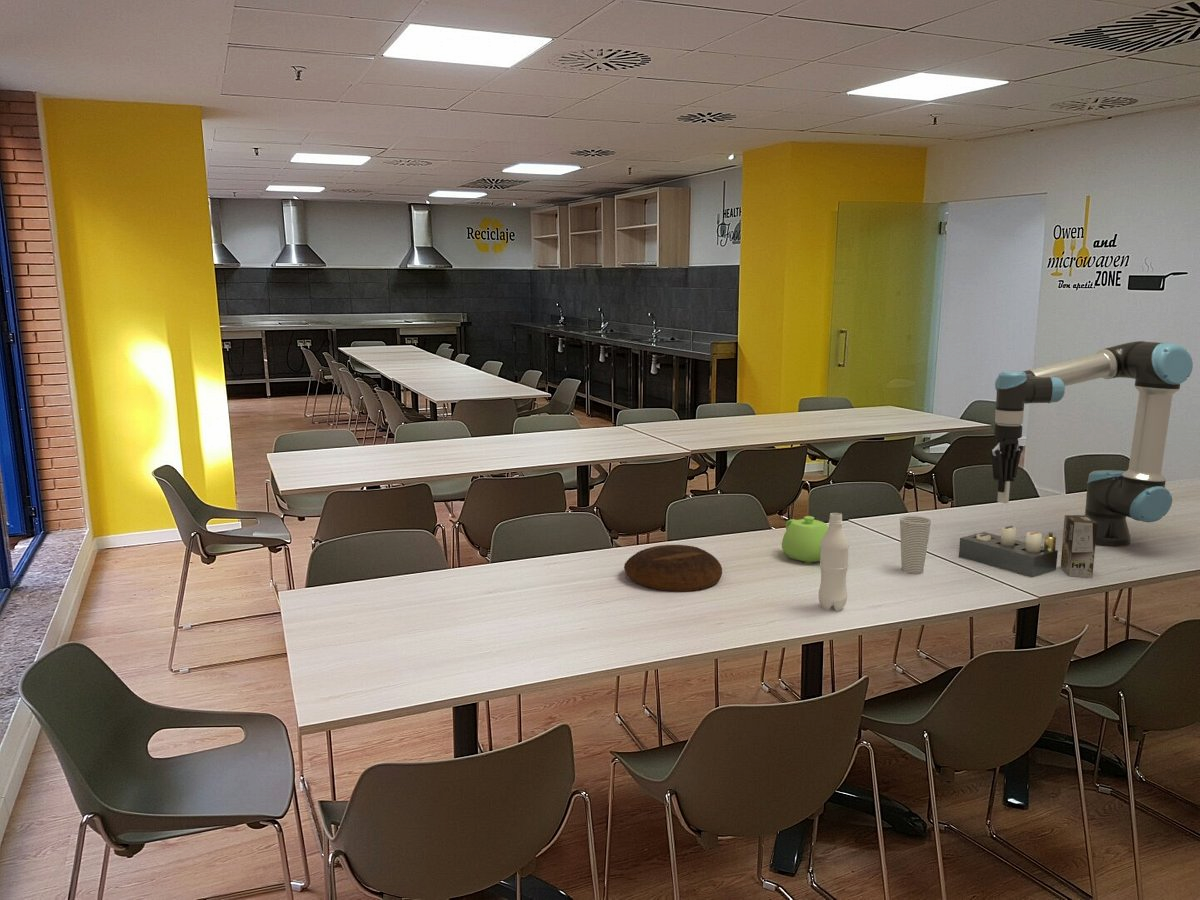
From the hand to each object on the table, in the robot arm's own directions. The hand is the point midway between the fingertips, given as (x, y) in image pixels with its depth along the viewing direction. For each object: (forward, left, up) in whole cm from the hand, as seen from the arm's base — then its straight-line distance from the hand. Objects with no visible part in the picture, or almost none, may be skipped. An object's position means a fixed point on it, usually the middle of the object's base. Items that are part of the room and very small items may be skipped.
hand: (1002, 502), depth 267 cm
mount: (0, +3, -18) cm, 18 cm away
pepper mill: (-4, +13, -12) cm, 18 cm away
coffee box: (-9, +19, -19) cm, 28 cm away
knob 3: (0, +11, -14) cm, 17 cm away
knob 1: (0, -5, -18) cm, 19 cm away
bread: (+90, -44, -19) cm, 102 cm away
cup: (+29, -8, -19) cm, 35 cm away
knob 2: (0, +3, -14) cm, 14 cm away
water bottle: (+71, 0, -19) cm, 73 cm away
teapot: (+45, -33, -19) cm, 59 cm away
